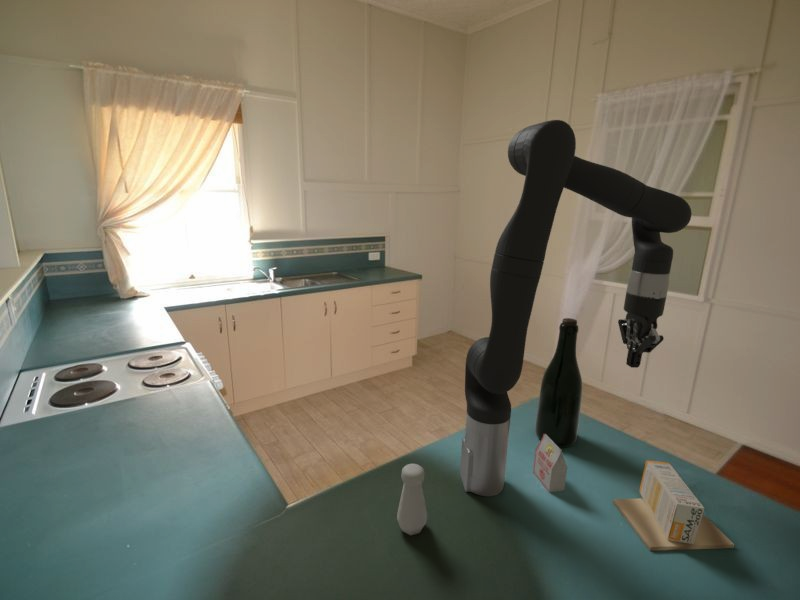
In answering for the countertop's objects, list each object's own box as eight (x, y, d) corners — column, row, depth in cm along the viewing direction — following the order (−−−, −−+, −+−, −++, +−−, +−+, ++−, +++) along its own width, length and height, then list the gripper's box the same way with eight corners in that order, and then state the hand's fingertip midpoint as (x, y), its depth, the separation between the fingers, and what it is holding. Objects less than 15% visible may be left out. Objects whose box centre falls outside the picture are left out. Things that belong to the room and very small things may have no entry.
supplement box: (661, 494, 86) (695, 545, 74) (637, 491, 87) (667, 541, 74) (670, 461, 84) (706, 508, 72) (645, 458, 85) (677, 504, 72)
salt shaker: (430, 520, 79) (432, 462, 76) (422, 542, 74) (424, 482, 71) (402, 512, 81) (403, 456, 78) (392, 533, 76) (393, 474, 73)
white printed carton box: (547, 470, 95) (552, 432, 92) (564, 490, 88) (569, 450, 86) (533, 472, 94) (537, 434, 91) (548, 492, 88) (553, 452, 85)
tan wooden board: (649, 550, 73) (650, 547, 73) (612, 502, 85) (613, 499, 85) (733, 547, 74) (734, 544, 74) (685, 500, 86) (686, 497, 86)
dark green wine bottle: (564, 453, 101) (581, 328, 93) (527, 435, 108) (539, 318, 100) (583, 438, 108) (600, 320, 100) (546, 421, 115) (559, 311, 107)
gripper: (612, 285, 93) (601, 355, 98) (649, 299, 81) (634, 378, 85) (643, 285, 94) (630, 355, 98) (685, 299, 81) (668, 379, 85)
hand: (632, 366), depth 91 cm, fingers closed
